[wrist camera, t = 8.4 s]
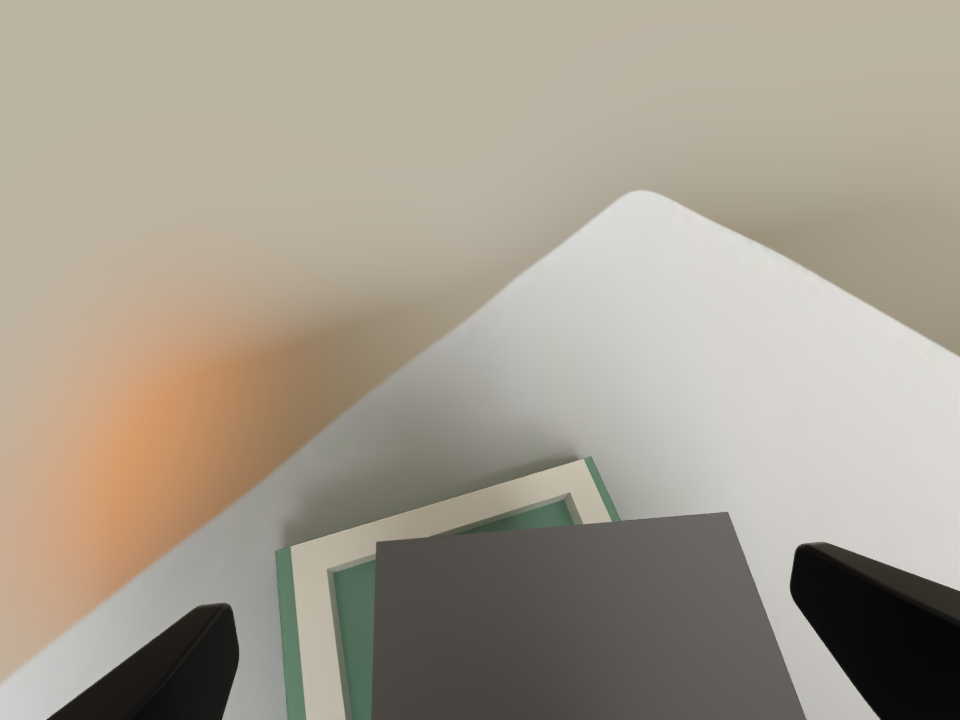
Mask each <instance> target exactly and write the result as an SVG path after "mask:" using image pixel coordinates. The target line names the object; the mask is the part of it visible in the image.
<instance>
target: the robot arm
mask: <svg viewBox="0 0 960 720" xmlns="http://www.w3.org/2000/svg"><path fill="white" fill-rule="evenodd" d="M790 592H791V595H792V598H793V600H794V602H795V603H796V605H797V606H798V608H799V609H800V610H801V612H802V613H803V615H804V616H805V617H806V619H807V620H808V622H809V623H810V624H811V626H812V627H813V629H814V630H815V631H816V633H817V634H818V636H819V637H820V639H821V640H822V641H823V643H824V644H825V646H826V647H827V648H828V650H829V651H830V653H831V654H832V655H833V657H834V658H835V660H836V661H837V662H838V664H839V665H840V667H841V668H842V669H843V671H844V672H845V674H846V675H847V676H848V678H849V679H850V681H851V682H852V683H853V685H854V686H855V687H856V689H857V690H858V691H859V693H860V694H861V696H862V697H863V698H864V700H865V701H866V702H867V703H868V705H869V706H870V707H871V708H872V710H873V711H874V712H875V713H876V715H877V716H878V717H879V718H880V720H960V591H958V590H955V589H952V588H950V587H947V586H944V585H941V584H939V583H936V582H933V581H930V580H928V579H925V578H922V577H920V576H917V575H914V574H911V573H909V572H906V571H903V570H900V569H898V568H895V567H892V566H889V565H887V564H884V563H881V562H878V561H876V560H873V559H870V558H867V557H865V556H862V555H859V554H857V553H854V552H851V551H848V550H846V549H843V548H840V547H837V546H835V545H832V544H829V543H825V542H815V543H806V544H801V545H799V546H798V547H797V549H796V551H795V555H794V561H793V567H792V574H791V580H790ZM238 662H239V645H238V639H237V633H236V627H235V621H234V616H233V611H232V608H231V606H230V605H229V604H227V603H218V604H208V605H201V606H198V607H196V608H194V609H193V610H192V611H190V612H189V613H188V614H186V615H185V616H184V617H182V618H181V619H180V620H178V621H177V622H176V623H174V624H173V625H172V626H170V627H169V628H168V629H166V630H165V631H164V632H162V633H161V634H160V635H158V636H157V637H156V638H154V639H153V640H152V641H150V642H149V643H148V644H146V645H145V646H144V647H142V648H141V649H140V650H138V651H137V652H136V653H134V654H133V655H132V656H130V657H129V658H128V659H126V660H125V661H124V662H122V663H121V664H120V665H118V666H117V667H116V668H114V669H113V670H112V671H110V672H109V673H108V674H106V675H105V676H104V677H102V678H101V679H100V680H98V681H97V682H96V683H94V684H93V685H92V686H90V687H89V688H88V689H86V690H85V691H84V692H82V693H81V694H80V695H78V696H77V697H76V698H74V699H73V700H72V701H70V702H69V703H68V704H66V705H65V706H64V707H62V708H61V709H60V710H59V711H57V712H56V713H55V714H53V715H52V716H51V717H49V718H48V719H47V720H222V717H223V714H224V711H225V707H226V704H227V701H228V697H229V694H230V691H231V687H232V684H233V681H234V677H235V674H236V671H237V667H238Z"/></svg>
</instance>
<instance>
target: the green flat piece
mask: <svg viewBox="0 0 960 720" xmlns="http://www.w3.org/2000/svg"><path fill="white" fill-rule="evenodd" d="M615 521H621V520H620V518H619V516H618V513H617V511H616V509H615V507H614V505H613V503H612V500H611V498H610V496H609V494H608V492H607V490H606V487H605V485H604V483H603V481H602V479H601V477H600V474H599V472H598V470H597V468H596V466H595V464H594V461H593V459H592V457H588V458H585V459H581V460H577V461H574V462H571V463H567V464H564V465H561V466H557V467H554V468H551V469H547V470H544V471H541V472H537V473H534V474H531V475H527V476H524V477H521V478H517V479H514V480H511V481H507V482H504V483H501V484H497V485H494V486H491V487H487V488H484V489H481V490H477V491H474V492H471V493H467V494H464V495H461V496H457V497H454V498H451V499H447V500H444V501H441V502H437V503H434V504H430V505H427V506H424V507H420V508H417V509H414V510H410V511H407V512H404V513H400V514H397V515H394V516H390V517H387V518H384V519H380V520H377V521H374V522H370V523H367V524H364V525H360V526H357V527H354V528H350V529H347V530H344V531H340V532H337V533H334V534H330V535H327V536H324V537H320V538H317V539H314V540H310V541H307V542H304V543H300V544H297V545H294V546H291V547H287V548H284V549H281V550H277V551H275V553H276V566H277V580H278V593H279V607H280V620H281V634H282V647H283V661H284V674H285V688H286V701H287V715H288V720H371V707H372V671H373V636H374V601H375V565H376V542H378V541H390V540H402V539H414V538H426V537H437V536H449V535H461V534H473V533H485V532H497V531H508V530H520V529H532V528H544V527H556V526H568V525H579V524H591V523H603V522H615Z"/></svg>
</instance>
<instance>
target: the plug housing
mask: <svg viewBox="0 0 960 720" xmlns="http://www.w3.org/2000/svg"><path fill="white" fill-rule="evenodd" d="M371 720H806V718H805V715H804V712H803V710H802V707H801V704H800V702H799V699H798V696H797V694H796V691H795V688H794V686H793V683H792V681H791V678H790V675H789V673H788V670H787V667H786V665H785V662H784V659H783V657H782V654H781V651H780V649H779V646H778V643H777V641H776V638H775V635H774V633H773V630H772V628H771V625H770V622H769V620H768V617H767V614H766V612H765V609H764V606H763V604H762V601H761V598H760V596H759V593H758V590H757V588H756V585H755V583H754V580H753V577H752V575H751V572H750V569H749V567H748V564H747V561H746V559H745V556H744V553H743V551H742V548H741V545H740V543H739V540H738V538H737V535H736V532H735V530H734V527H733V524H732V522H731V519H730V516H729V514H728V512H721V513H709V514H698V515H686V516H674V517H662V518H650V519H638V520H627V521H615V522H603V523H591V524H579V525H568V526H556V527H544V528H532V529H520V530H508V531H497V532H485V533H473V534H461V535H449V536H437V537H426V538H414V539H402V540H390V541H378V542H376V565H375V601H374V636H373V671H372V707H371Z"/></svg>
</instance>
